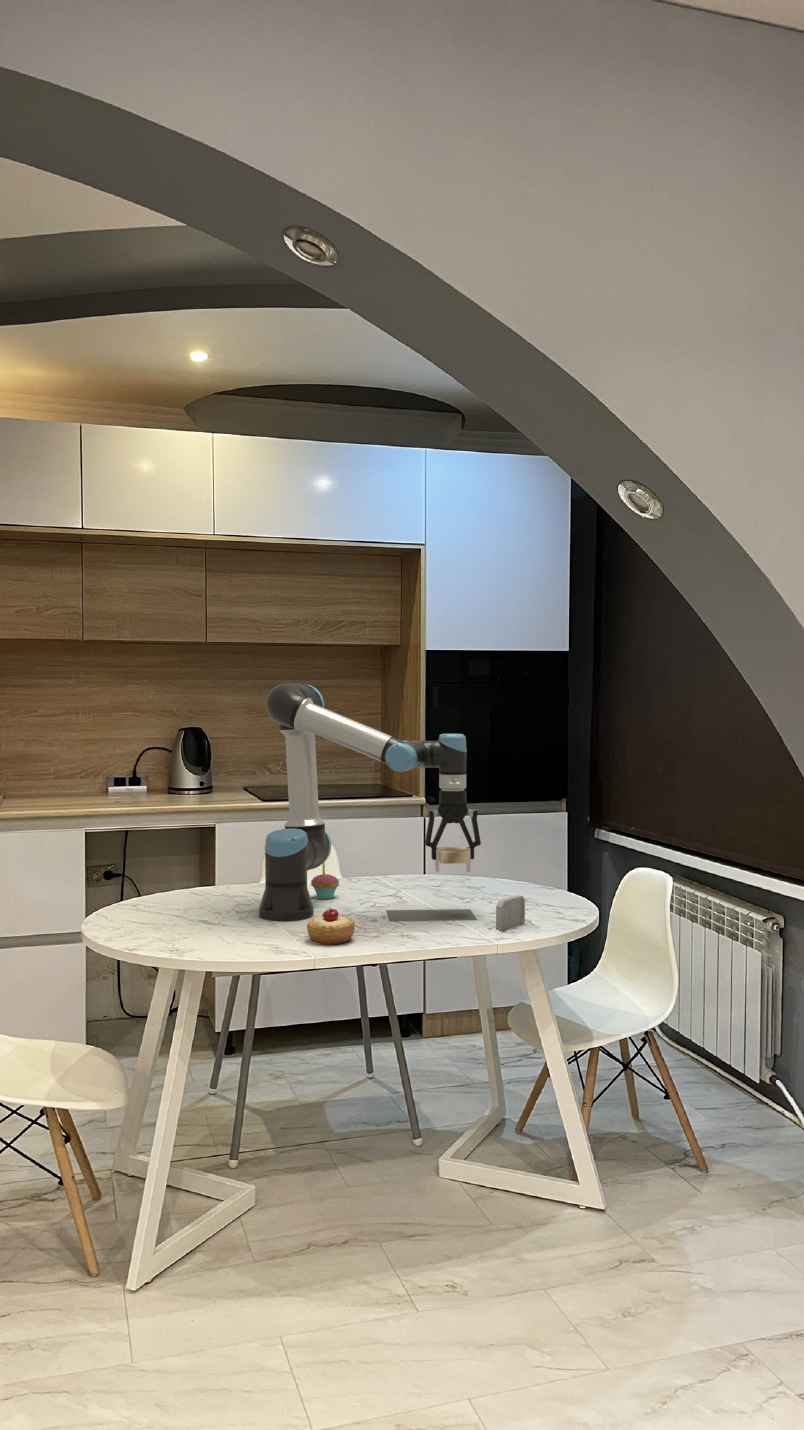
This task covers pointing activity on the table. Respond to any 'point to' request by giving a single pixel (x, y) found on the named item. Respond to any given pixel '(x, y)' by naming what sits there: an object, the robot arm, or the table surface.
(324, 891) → the cupcake
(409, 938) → the table surface
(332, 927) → the pastry
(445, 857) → the tan and green block
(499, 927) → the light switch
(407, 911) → the mat
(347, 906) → the table surface
